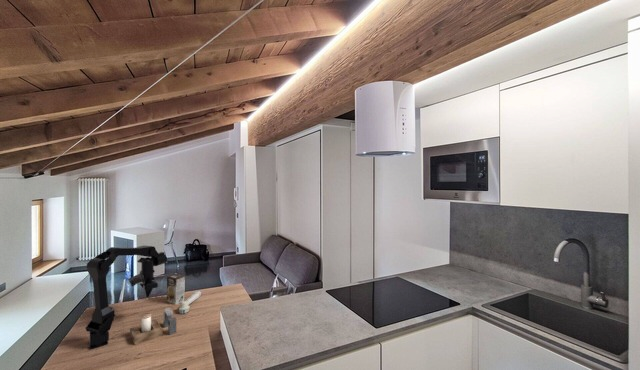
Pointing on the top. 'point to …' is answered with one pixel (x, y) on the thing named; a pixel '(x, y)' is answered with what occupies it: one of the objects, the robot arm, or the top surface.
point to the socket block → (146, 333)
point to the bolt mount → (169, 323)
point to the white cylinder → (145, 322)
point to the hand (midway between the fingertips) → (147, 296)
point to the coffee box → (175, 288)
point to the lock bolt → (168, 312)
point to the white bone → (184, 304)
